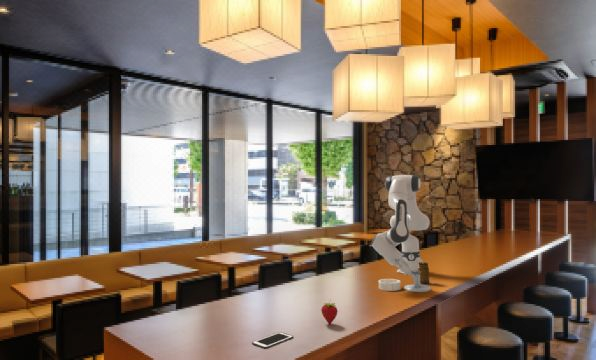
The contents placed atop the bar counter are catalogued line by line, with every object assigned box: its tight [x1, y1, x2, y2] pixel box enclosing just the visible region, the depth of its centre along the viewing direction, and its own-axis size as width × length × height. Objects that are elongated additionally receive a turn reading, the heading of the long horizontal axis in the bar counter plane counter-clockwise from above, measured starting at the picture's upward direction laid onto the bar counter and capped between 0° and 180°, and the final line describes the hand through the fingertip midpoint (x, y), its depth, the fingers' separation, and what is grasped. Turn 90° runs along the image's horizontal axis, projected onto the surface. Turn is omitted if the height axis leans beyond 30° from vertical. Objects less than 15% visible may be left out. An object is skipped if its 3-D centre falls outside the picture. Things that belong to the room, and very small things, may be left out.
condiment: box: [418, 261, 435, 286], centre depth 234 cm, size 7×8×12 cm
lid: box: [403, 270, 431, 293], centre depth 221 cm, size 14×14×10 cm
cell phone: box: [251, 331, 294, 350], centre depth 147 cm, size 8×15×1 cm, turn 136°
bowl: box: [377, 278, 402, 292], centre depth 224 cm, size 12×12×4 cm
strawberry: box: [320, 299, 338, 325], centre depth 165 cm, size 6×8×10 cm
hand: (413, 275), depth 221 cm, fingers open, 8 cm apart
